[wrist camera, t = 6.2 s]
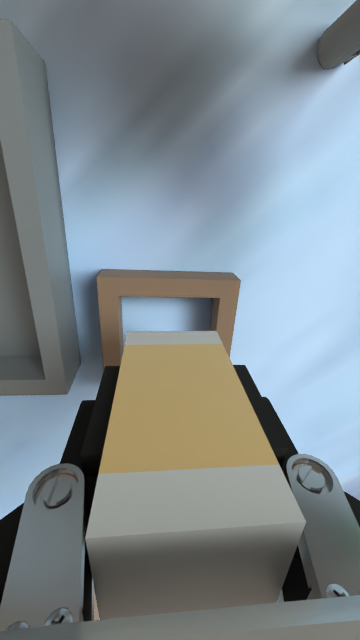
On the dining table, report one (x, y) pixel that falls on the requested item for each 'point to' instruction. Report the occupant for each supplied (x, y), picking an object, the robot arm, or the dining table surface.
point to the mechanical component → (341, 39)
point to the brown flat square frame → (163, 285)
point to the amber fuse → (187, 487)
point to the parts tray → (31, 233)
